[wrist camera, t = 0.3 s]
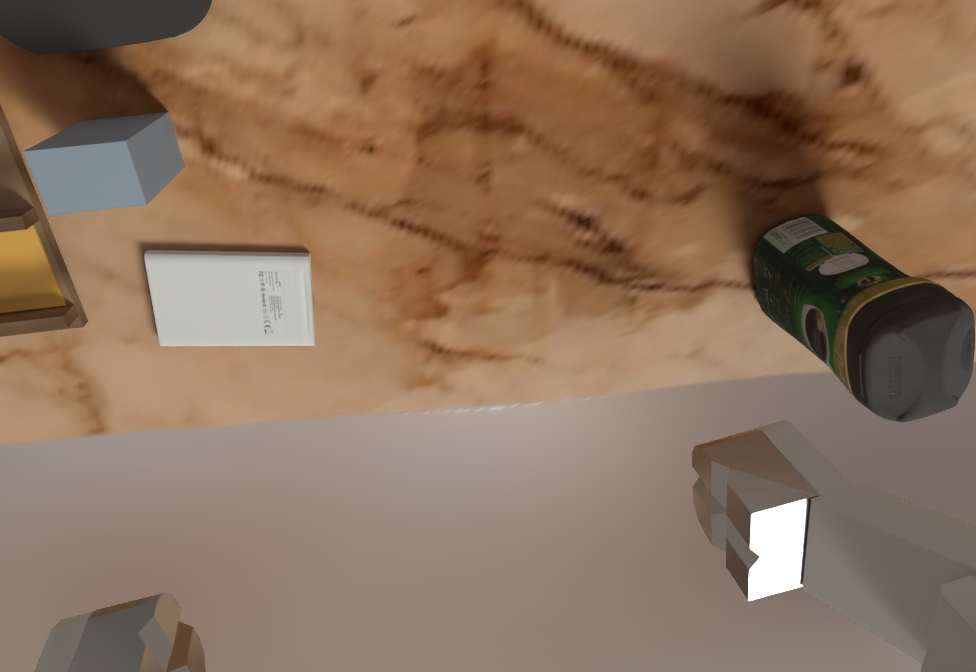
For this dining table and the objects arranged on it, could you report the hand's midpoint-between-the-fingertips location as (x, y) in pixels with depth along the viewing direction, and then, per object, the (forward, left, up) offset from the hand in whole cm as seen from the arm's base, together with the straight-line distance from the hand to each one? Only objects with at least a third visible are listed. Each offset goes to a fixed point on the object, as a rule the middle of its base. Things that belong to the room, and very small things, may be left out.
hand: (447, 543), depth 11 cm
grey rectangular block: (+3, -20, -46) cm, 50 cm away
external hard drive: (+16, -16, -47) cm, 52 cm away
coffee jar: (+19, +32, -46) cm, 59 cm away
